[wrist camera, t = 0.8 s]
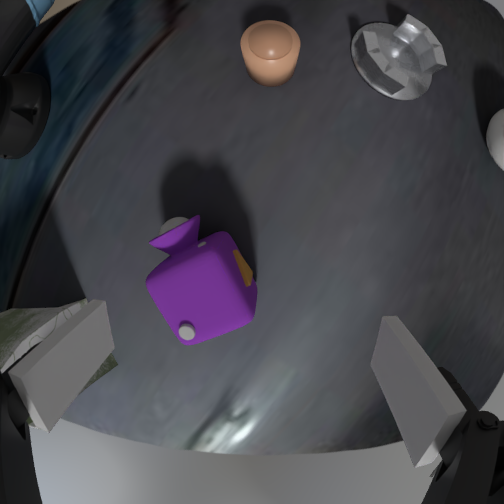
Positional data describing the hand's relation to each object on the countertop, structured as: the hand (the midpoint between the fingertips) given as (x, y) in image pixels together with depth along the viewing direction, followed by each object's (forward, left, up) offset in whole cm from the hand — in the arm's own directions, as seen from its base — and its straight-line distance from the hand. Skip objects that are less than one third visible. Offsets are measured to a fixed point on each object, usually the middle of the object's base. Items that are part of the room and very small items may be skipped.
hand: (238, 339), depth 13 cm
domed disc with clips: (-10, +28, -24) cm, 38 cm away
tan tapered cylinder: (-17, +13, -24) cm, 32 cm away
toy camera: (-1, -8, -24) cm, 25 cm away
